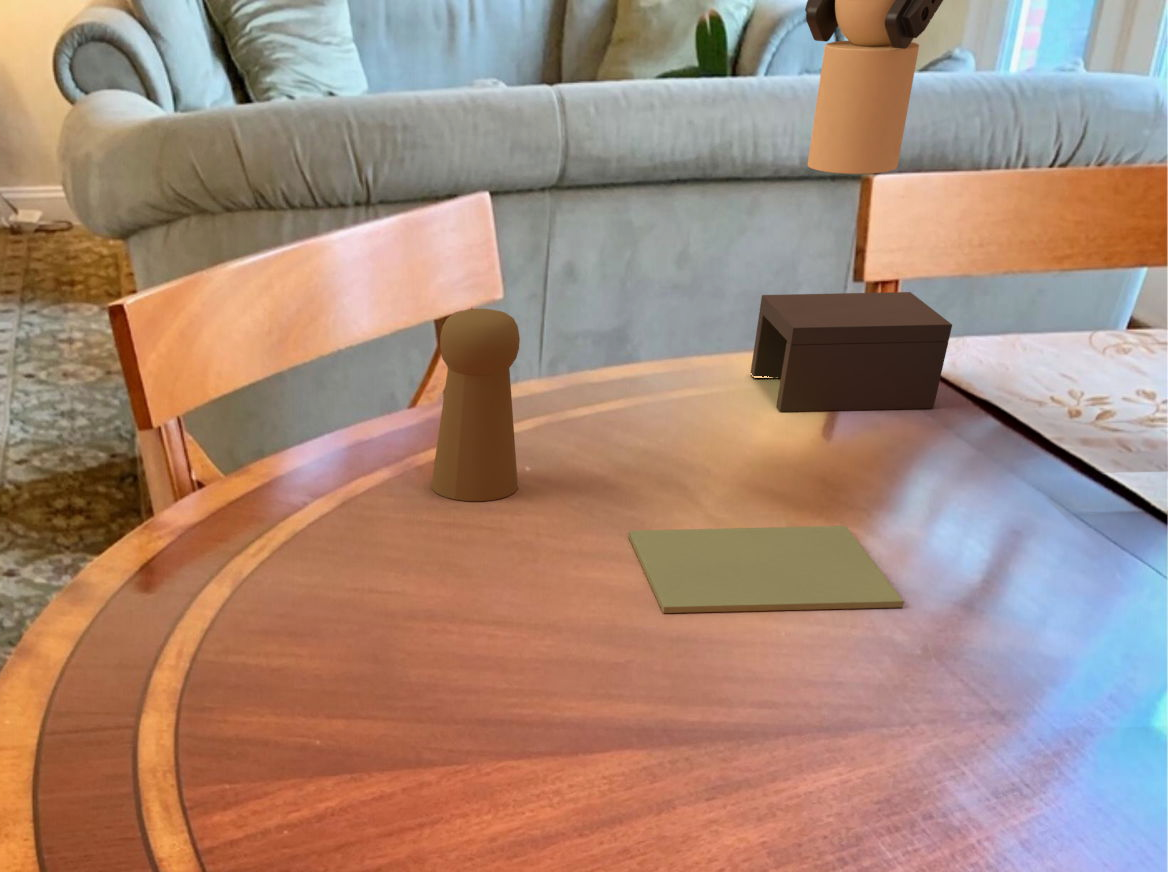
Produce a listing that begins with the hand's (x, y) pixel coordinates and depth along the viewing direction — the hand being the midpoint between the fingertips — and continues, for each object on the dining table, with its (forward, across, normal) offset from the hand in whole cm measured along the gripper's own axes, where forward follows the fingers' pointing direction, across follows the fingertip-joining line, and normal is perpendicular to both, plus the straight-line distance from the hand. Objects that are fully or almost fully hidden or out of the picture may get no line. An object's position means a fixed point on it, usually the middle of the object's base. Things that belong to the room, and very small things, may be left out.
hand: (854, 32), depth 83 cm
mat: (+26, +7, +10) cm, 29 cm away
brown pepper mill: (+28, -15, +8) cm, 33 cm away
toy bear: (+3, 0, +6) cm, 7 cm away
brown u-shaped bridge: (+2, -12, +34) cm, 37 cm away
